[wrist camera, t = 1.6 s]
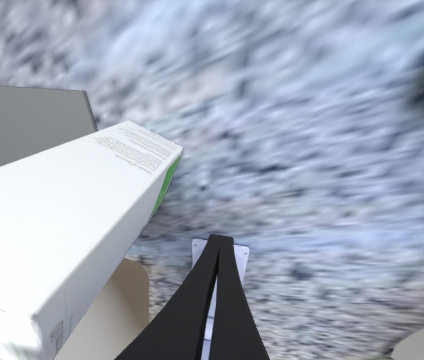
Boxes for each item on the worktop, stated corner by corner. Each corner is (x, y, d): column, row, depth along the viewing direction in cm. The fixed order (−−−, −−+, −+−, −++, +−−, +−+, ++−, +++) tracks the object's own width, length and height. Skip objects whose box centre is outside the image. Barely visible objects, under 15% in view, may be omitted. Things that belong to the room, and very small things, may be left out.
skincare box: (163, 200, 23) (49, 377, 10) (113, 176, 22) (-80, 333, 9) (186, 144, 18) (32, 334, 5) (125, 113, 18) (-228, 241, 5)
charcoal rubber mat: (120, 205, 24) (118, 207, 24) (7, 189, 27) (4, 190, 26) (85, 91, 17) (82, 91, 17) (-67, 81, 19) (-72, 81, 19)
